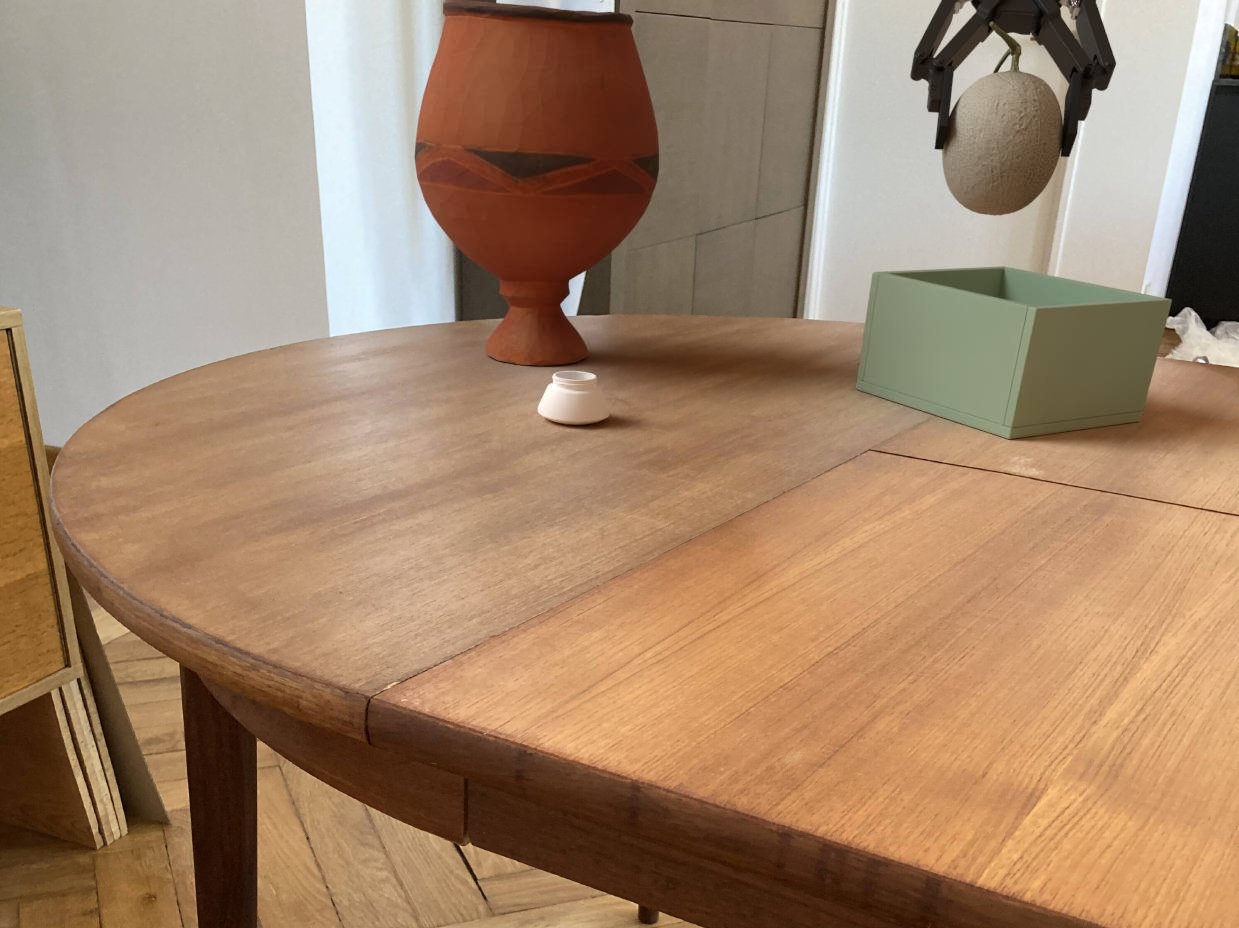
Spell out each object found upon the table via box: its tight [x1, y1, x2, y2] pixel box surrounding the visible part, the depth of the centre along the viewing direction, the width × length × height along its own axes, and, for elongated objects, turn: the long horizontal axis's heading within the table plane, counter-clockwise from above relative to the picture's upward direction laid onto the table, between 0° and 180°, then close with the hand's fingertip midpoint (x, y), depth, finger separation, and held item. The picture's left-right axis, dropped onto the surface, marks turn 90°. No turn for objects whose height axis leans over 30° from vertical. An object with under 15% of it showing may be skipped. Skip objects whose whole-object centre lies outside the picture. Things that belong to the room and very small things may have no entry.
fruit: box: [941, 22, 1064, 216], centre depth 114 cm, size 10×12×15 cm
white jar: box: [537, 370, 610, 426], centre depth 88 cm, size 5×3×5 cm
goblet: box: [414, 0, 660, 367], centre depth 100 cm, size 19×19×25 cm
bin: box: [855, 265, 1173, 440], centre depth 97 cm, size 17×15×9 cm
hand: (1004, 141), depth 112 cm, fingers closed on fruit, 10 cm apart
